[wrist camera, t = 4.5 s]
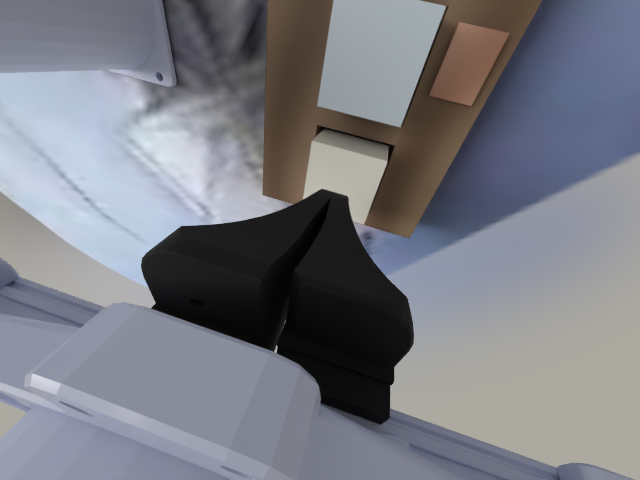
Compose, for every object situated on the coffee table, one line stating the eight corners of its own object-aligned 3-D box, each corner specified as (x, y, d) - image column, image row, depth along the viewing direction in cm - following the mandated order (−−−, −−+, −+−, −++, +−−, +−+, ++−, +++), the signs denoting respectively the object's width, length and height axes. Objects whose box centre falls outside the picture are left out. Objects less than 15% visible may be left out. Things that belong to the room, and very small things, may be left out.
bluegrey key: (329, 98, 13) (317, 105, 11) (347, -2, 11) (336, -18, 8) (399, 116, 13) (400, 127, 11) (435, 17, 10) (446, 6, 8)
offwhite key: (313, 187, 17) (301, 206, 14) (324, 128, 14) (311, 140, 12) (367, 203, 16) (363, 224, 14) (388, 145, 14) (387, 161, 12)
